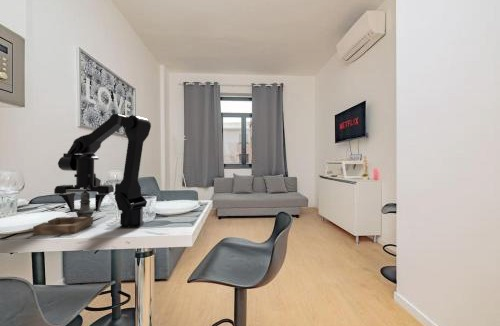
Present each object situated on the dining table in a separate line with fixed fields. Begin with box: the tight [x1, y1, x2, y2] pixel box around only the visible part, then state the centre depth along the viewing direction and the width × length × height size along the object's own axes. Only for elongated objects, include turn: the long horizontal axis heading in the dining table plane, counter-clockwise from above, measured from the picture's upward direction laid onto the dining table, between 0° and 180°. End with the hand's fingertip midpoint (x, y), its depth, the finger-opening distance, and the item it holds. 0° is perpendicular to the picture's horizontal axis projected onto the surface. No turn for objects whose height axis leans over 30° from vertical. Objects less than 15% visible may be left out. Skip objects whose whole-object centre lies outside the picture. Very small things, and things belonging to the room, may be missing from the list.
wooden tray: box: [32, 216, 94, 236], centre depth 84 cm, size 12×12×2 cm
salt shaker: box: [75, 192, 95, 217], centre depth 95 cm, size 6×6×12 cm
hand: (85, 211), depth 95 cm, fingers closed on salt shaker, 8 cm apart
